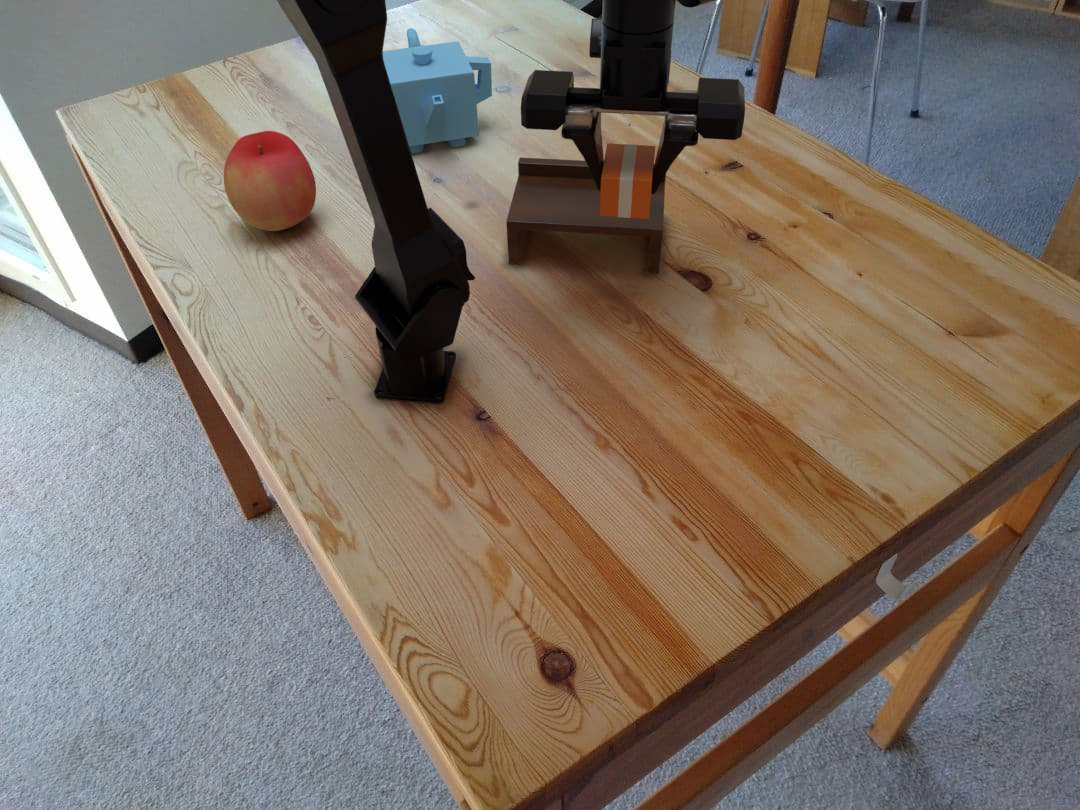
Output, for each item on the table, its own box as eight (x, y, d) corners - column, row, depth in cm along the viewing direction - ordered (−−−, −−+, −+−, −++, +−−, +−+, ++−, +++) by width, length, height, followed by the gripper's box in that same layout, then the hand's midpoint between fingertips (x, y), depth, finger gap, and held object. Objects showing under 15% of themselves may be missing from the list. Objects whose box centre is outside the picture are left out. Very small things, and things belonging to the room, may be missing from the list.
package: (648, 219, 77) (652, 180, 75) (599, 216, 78) (600, 177, 75) (652, 183, 82) (655, 145, 79) (605, 180, 82) (607, 142, 79)
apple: (239, 207, 99) (213, 128, 92) (321, 194, 101) (302, 116, 94) (239, 254, 93) (212, 173, 86) (327, 240, 94) (307, 160, 87)
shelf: (658, 273, 89) (664, 217, 84) (508, 264, 91) (505, 208, 86) (661, 219, 96) (666, 164, 91) (521, 211, 98) (519, 157, 93)
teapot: (383, 177, 103) (367, 88, 95) (364, 109, 115) (349, 25, 107) (508, 157, 106) (504, 69, 98) (477, 92, 118) (471, 9, 110)
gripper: (754, -15, 72) (728, 151, 83) (537, -22, 74) (540, 140, 86) (757, 41, 65) (728, 215, 76) (516, 31, 67) (523, 202, 78)
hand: (627, 190), depth 79 cm, fingers closed on package, 4 cm apart
